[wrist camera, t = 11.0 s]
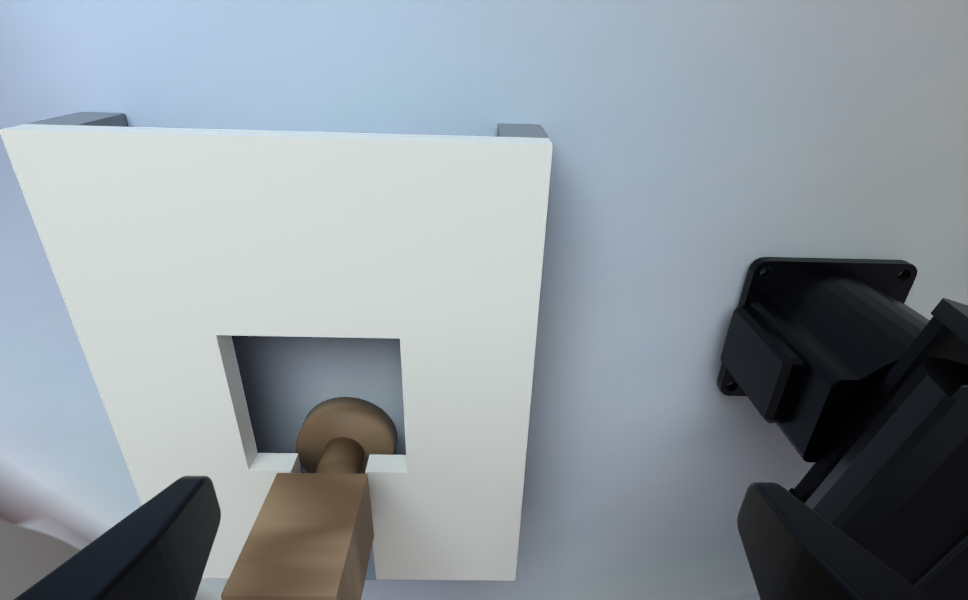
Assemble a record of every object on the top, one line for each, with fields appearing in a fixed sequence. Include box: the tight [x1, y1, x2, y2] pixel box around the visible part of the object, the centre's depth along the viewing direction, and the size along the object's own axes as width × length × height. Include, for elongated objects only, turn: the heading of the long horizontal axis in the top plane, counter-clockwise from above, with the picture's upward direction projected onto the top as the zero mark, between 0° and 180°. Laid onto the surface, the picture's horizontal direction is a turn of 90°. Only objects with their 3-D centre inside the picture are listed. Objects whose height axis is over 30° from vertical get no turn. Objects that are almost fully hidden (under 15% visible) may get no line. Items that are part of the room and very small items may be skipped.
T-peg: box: [221, 397, 397, 600], centre depth 21 cm, size 4×4×9 cm
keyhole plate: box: [0, 112, 553, 581], centre depth 21 cm, size 16×20×4 cm
